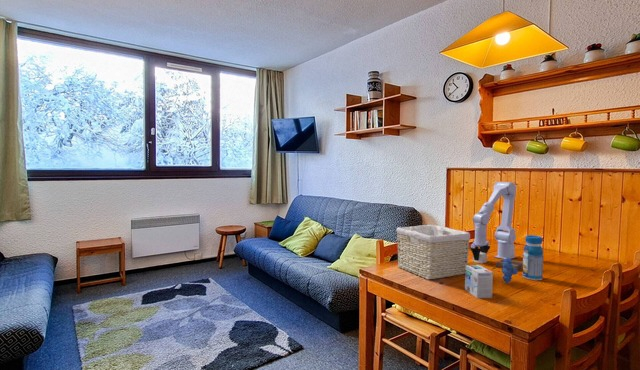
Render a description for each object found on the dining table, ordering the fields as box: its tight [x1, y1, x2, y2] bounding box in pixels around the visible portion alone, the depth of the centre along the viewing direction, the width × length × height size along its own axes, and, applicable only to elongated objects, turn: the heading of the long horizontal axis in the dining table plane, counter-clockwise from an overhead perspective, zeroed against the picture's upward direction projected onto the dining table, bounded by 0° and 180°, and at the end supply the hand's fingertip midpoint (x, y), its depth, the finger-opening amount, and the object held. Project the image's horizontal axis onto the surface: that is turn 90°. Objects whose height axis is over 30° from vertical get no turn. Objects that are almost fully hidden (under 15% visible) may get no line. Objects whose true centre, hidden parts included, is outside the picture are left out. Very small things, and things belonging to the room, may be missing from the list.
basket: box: [395, 224, 471, 281], centre depth 180 cm, size 27×27×22 cm
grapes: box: [501, 258, 519, 284], centre depth 160 cm, size 12×7×12 cm, turn 144°
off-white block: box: [472, 251, 488, 264], centre depth 196 cm, size 5×5×5 cm
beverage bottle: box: [522, 234, 544, 281], centre depth 168 cm, size 8×8×20 cm
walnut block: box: [495, 259, 523, 272], centre depth 186 cm, size 10×10×3 cm
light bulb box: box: [464, 264, 494, 299], centre depth 148 cm, size 11×7×11 cm, turn 5°
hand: (479, 259), depth 196 cm, fingers open, 6 cm apart
